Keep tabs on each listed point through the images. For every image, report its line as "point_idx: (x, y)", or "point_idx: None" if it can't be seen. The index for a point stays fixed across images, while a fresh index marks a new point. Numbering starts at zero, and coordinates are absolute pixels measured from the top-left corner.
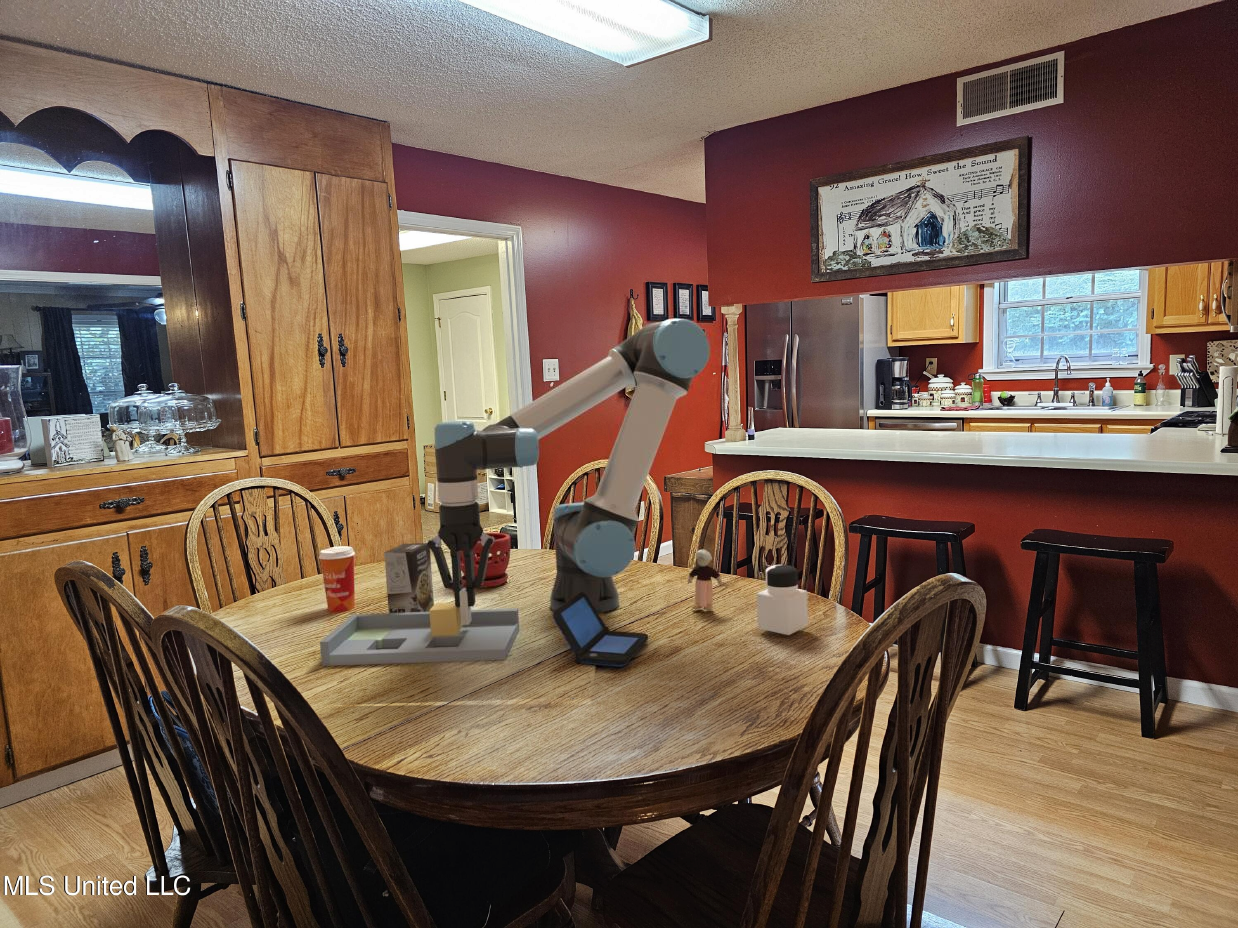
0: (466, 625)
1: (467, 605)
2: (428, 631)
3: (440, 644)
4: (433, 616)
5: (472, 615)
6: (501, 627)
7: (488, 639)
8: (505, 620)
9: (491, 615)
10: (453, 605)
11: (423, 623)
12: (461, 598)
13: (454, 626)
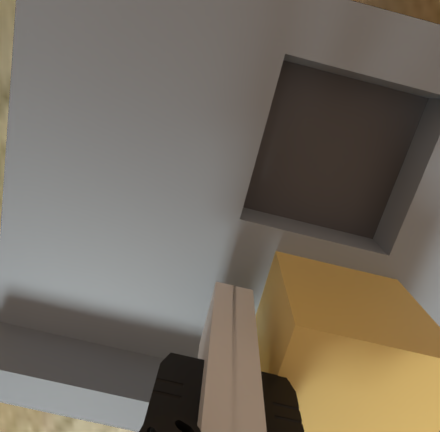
0: None
1: (208, 351)
2: None
3: (348, 235)
4: (427, 332)
5: None
6: (65, 283)
7: (122, 124)
8: (43, 340)
9: (98, 374)
10: (301, 412)
11: None
12: (250, 400)
13: (292, 271)
